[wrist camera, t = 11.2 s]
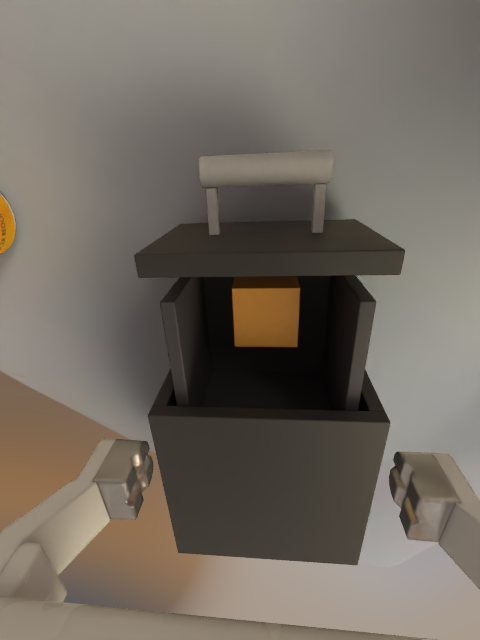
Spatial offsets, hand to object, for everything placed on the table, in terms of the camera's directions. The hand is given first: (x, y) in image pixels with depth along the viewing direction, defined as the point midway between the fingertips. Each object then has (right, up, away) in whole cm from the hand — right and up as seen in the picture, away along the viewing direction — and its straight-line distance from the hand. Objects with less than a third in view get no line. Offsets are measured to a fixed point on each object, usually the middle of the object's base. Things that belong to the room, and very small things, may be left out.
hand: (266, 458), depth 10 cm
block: (+1, +6, +13) cm, 15 cm away
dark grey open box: (+2, -3, +20) cm, 20 cm away
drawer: (+1, +8, +14) cm, 16 cm away
